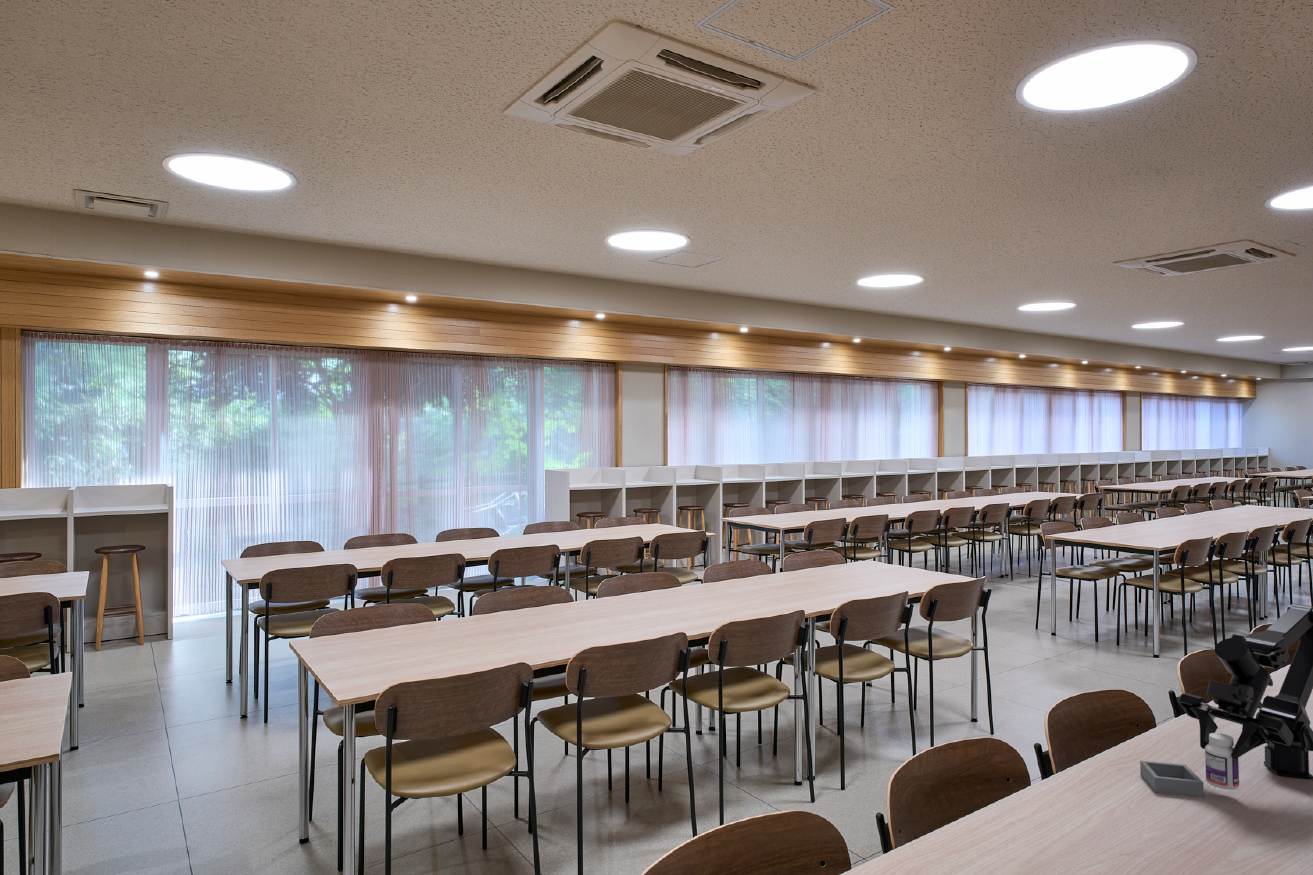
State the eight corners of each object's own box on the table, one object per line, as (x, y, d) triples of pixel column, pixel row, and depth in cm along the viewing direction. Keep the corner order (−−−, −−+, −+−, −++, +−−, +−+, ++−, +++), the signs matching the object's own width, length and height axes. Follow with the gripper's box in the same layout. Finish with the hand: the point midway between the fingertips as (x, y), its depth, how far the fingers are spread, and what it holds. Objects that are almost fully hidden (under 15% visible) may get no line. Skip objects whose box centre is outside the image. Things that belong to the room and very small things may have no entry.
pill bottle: (1227, 778, 152) (1226, 731, 152) (1245, 790, 147) (1244, 741, 147) (1199, 777, 153) (1198, 730, 153) (1216, 789, 148) (1215, 741, 148)
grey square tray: (1186, 778, 158) (1185, 764, 158) (1203, 797, 150) (1203, 782, 150) (1140, 774, 160) (1140, 760, 160) (1155, 792, 152) (1154, 777, 152)
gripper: (1181, 655, 160) (1151, 714, 155) (1284, 678, 144) (1254, 746, 139) (1203, 685, 164) (1174, 744, 159) (1306, 712, 147) (1278, 779, 142)
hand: (1217, 752), depth 149 cm, fingers closed on pill bottle, 5 cm apart
